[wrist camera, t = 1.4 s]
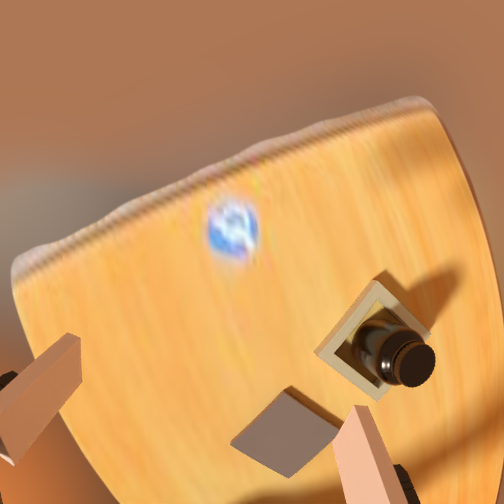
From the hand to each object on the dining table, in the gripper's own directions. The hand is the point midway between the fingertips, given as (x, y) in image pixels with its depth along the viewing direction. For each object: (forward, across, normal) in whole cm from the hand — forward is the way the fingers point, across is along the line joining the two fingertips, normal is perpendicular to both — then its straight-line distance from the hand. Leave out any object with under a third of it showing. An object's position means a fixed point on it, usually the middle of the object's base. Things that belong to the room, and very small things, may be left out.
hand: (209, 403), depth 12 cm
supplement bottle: (+24, -20, +6) cm, 32 cm away
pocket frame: (+24, -20, +6) cm, 32 cm away
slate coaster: (+20, -12, +22) cm, 32 cm away
